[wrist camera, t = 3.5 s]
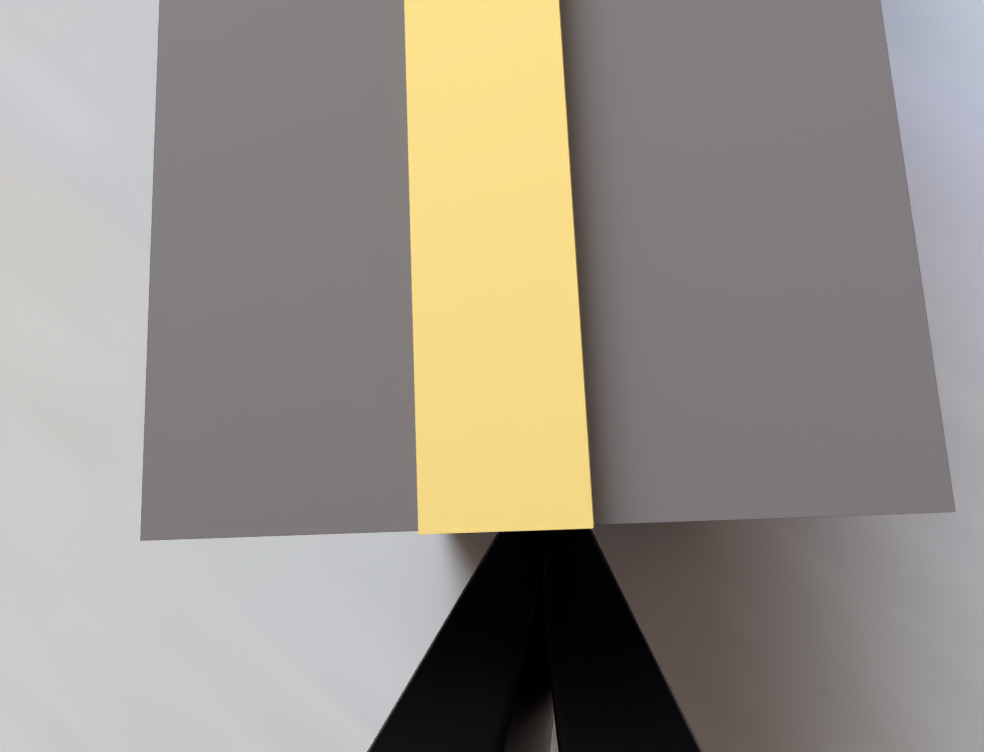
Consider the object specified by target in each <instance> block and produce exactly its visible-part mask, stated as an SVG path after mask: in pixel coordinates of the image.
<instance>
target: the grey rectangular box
mask: <svg viewBox="0 0 984 752" xmlns="http://www.w3.org/2000/svg"><path fill="white" fill-rule="evenodd" d="M939 512H955V505H954V498H953V492H952V485H951V478H950V471H949V464H948V458H947V451H946V444H945V437H944V430H943V424H942V417H941V410H940V403H939V396H938V390H937V383H936V376H935V369H934V362H933V356H932V349H931V342H930V335H929V329H928V322H927V315H926V308H925V301H924V295H923V288H922V281H921V274H920V267H919V261H918V254H917V247H916V240H915V233H914V227H913V220H912V213H911V206H910V199H909V193H908V186H907V179H906V172H905V165H904V159H903V152H902V145H901V138H900V132H899V125H898V118H897V111H896V104H895V98H894V91H893V84H892V77H891V70H890V64H889V57H888V50H887V43H886V36H885V30H884V23H883V16H882V9H881V2H880V0H159V28H158V56H157V85H156V113H155V141H154V170H153V198H152V226H151V254H150V283H149V311H148V339H147V367H146V396H145V424H144V452H143V481H142V509H141V537H140V541H145V540H173V539H202V538H230V537H258V536H287V535H315V534H344V533H372V532H400V531H418V534H446V533H475V532H504V531H533V530H562V529H591V528H594V525H599V524H627V523H656V522H684V521H712V520H741V519H769V518H798V517H826V516H854V515H883V514H911V513H939Z"/></svg>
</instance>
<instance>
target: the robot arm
mask: <svg viewBox="0 0 984 752" xmlns="http://www.w3.org/2000/svg"><path fill="white" fill-rule="evenodd" d="M553 715H554V717H555V725H556V733H557V742H558V750H559V752H703V751H702V749H701V747H700V745H699V743H698V741H697V739H696V737H695V735H694V733H693V731H692V729H691V727H690V725H689V723H688V721H687V719H686V717H685V715H684V713H683V711H682V709H681V707H680V705H679V703H678V701H677V699H676V697H675V695H674V693H673V691H672V689H671V687H670V685H669V683H668V681H667V679H666V677H665V675H664V673H663V671H662V670H661V668H660V666H659V664H658V662H657V660H656V658H655V656H654V654H653V652H652V650H651V648H650V646H649V644H648V642H647V640H646V638H645V636H644V634H643V632H642V630H641V628H640V626H639V624H638V622H637V620H636V618H635V616H634V614H633V612H632V610H631V608H630V606H629V604H628V602H627V600H626V598H625V596H624V594H623V592H622V590H621V588H620V586H619V584H618V582H617V580H616V578H615V576H614V574H613V572H612V570H611V568H610V566H609V564H608V562H607V560H606V558H605V556H604V554H603V552H602V550H601V548H600V546H599V544H598V542H597V540H596V538H595V536H594V534H593V532H592V530H591V529H562V530H533V531H504V532H498V533H497V535H496V536H495V538H494V540H493V541H492V543H491V545H490V546H489V548H488V550H487V551H486V553H485V555H484V556H483V558H482V560H481V561H480V563H479V565H478V567H477V568H476V570H475V572H474V573H473V575H472V577H471V578H470V580H469V582H468V583H467V585H466V587H465V588H464V590H463V592H462V593H461V595H460V597H459V598H458V600H457V602H456V603H455V605H454V607H453V608H452V610H451V612H450V614H449V615H448V617H447V619H446V620H445V622H444V624H443V625H442V627H441V629H440V630H439V632H438V634H437V635H436V637H435V639H434V640H433V642H432V644H431V645H430V647H429V649H428V650H427V652H426V654H425V656H424V657H423V659H422V661H421V662H420V664H419V666H418V667H417V669H416V671H415V672H414V674H413V676H412V677H411V679H410V681H409V682H408V684H407V686H406V687H405V689H404V691H403V692H402V694H401V696H400V697H399V699H398V701H397V703H396V704H395V706H394V708H393V709H392V711H391V713H390V714H389V716H388V718H387V719H386V721H385V723H384V724H383V726H382V728H381V729H380V731H379V733H378V734H377V736H376V738H375V739H374V741H373V743H372V745H371V746H370V748H369V750H368V751H367V752H550V747H551V737H552V727H553Z"/></svg>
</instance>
